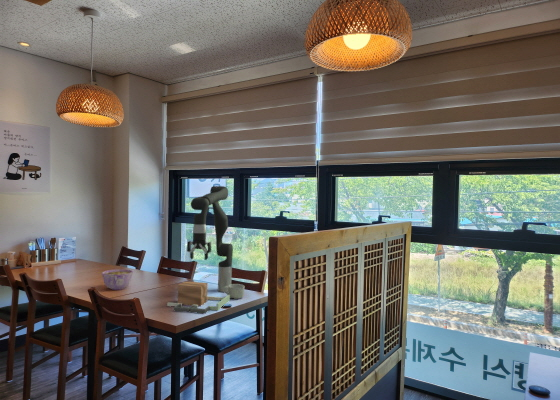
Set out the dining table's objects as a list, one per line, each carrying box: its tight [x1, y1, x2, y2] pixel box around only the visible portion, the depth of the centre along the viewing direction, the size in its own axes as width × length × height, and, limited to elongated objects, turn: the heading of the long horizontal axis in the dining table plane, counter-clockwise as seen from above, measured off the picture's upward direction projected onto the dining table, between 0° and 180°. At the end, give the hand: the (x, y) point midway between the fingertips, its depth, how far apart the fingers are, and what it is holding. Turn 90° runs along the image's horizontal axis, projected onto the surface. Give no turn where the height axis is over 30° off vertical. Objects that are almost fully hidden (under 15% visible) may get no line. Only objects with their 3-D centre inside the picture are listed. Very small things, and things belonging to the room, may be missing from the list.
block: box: [177, 281, 208, 307], centre depth 238 cm, size 10×15×12 cm, turn 79°
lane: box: [166, 294, 231, 314], centre depth 233 cm, size 28×32×4 cm
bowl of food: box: [101, 268, 134, 291], centre depth 269 cm, size 20×20×12 cm
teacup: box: [223, 283, 245, 300], centre depth 252 cm, size 14×11×8 cm
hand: (198, 259), depth 227 cm, fingers open, 8 cm apart
